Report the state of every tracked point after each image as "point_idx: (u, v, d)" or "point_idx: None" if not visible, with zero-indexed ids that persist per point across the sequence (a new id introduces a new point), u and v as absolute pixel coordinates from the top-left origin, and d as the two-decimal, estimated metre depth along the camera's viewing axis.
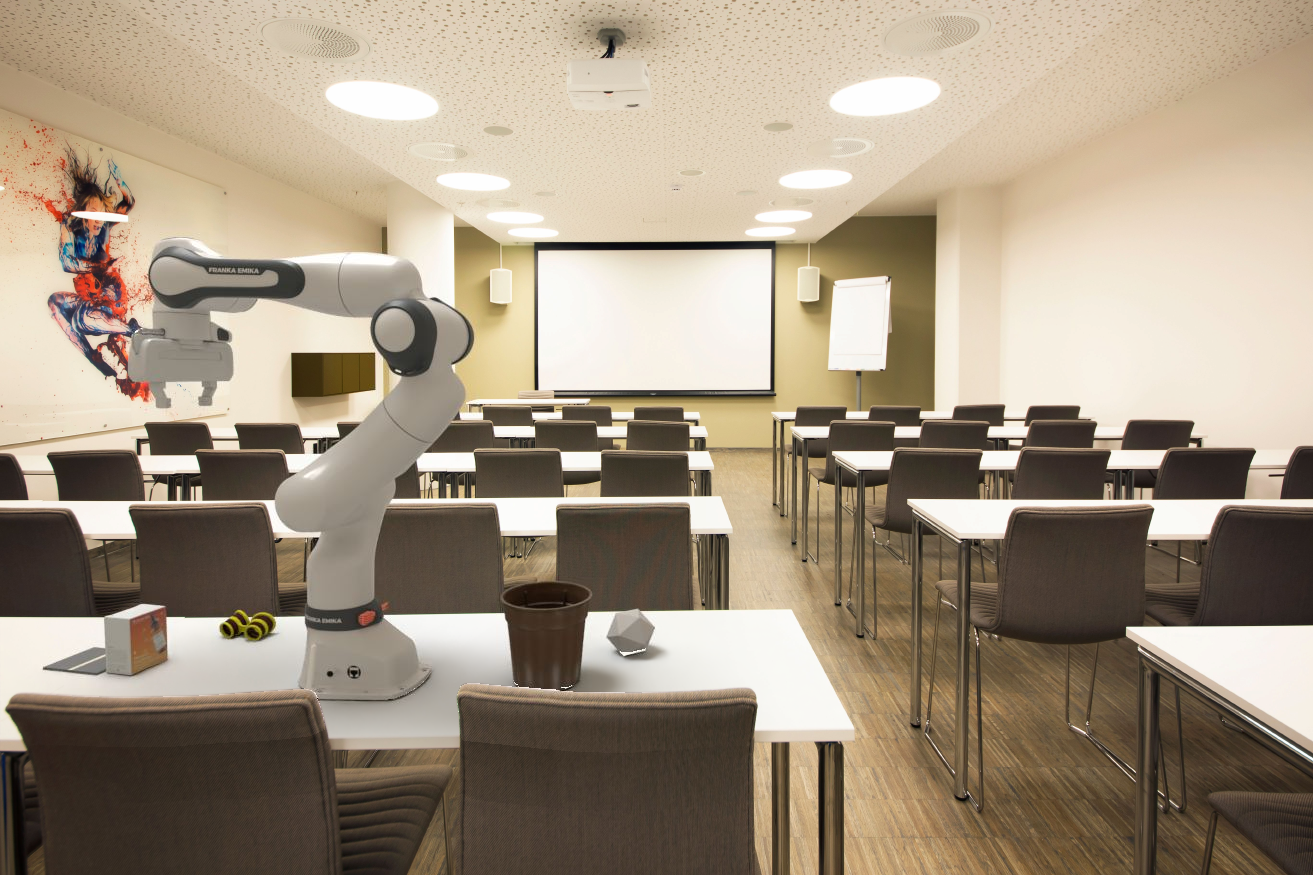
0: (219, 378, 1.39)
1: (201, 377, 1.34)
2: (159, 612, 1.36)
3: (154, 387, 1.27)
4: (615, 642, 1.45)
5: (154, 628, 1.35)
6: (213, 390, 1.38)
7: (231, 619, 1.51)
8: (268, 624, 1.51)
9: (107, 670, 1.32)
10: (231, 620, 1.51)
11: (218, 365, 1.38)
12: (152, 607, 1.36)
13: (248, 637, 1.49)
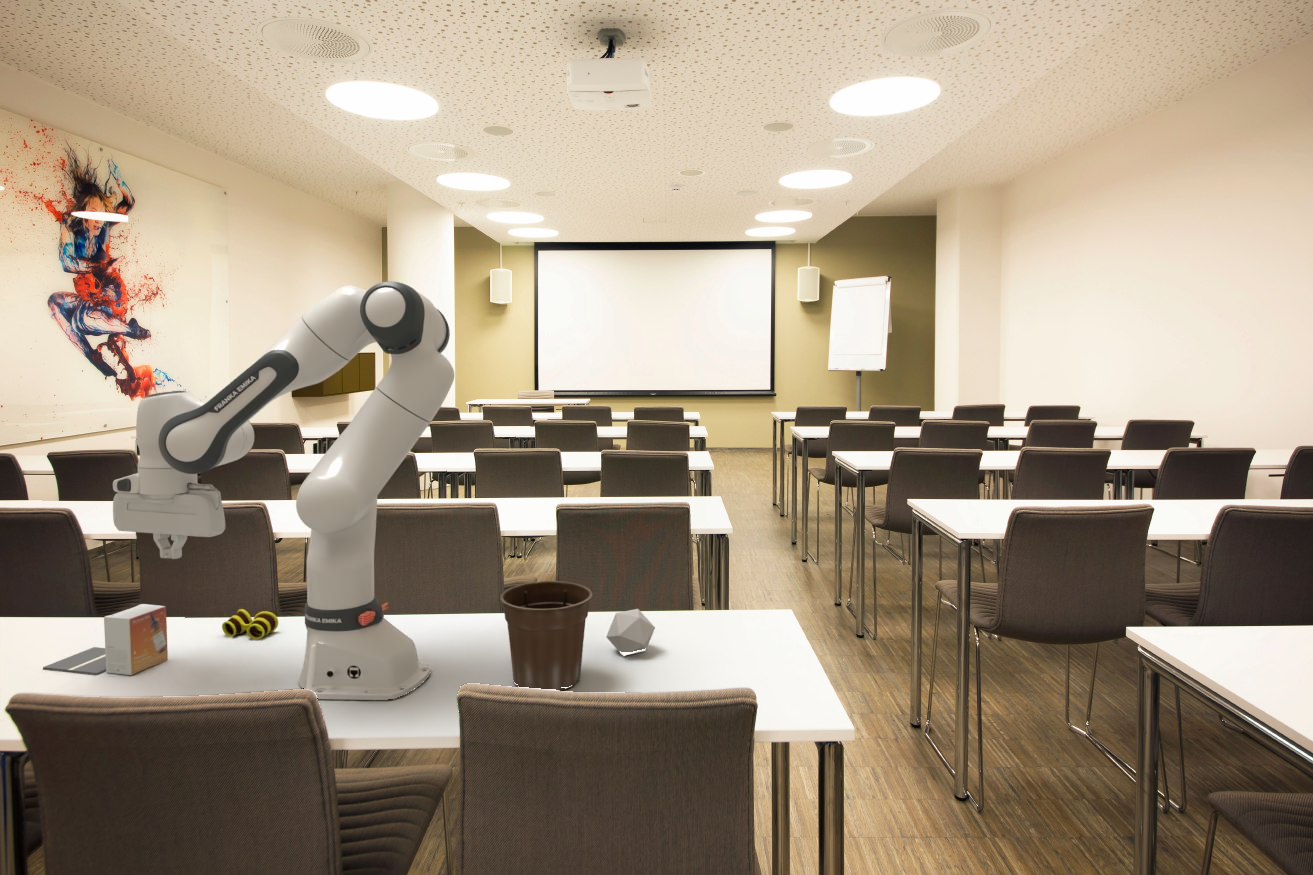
0: None
1: None
2: (159, 612, 1.36)
3: (182, 538, 1.31)
4: (615, 642, 1.45)
5: (154, 628, 1.35)
6: None
7: (234, 618, 1.51)
8: (270, 623, 1.52)
9: (107, 670, 1.32)
10: (234, 618, 1.51)
11: None
12: (152, 607, 1.36)
13: (251, 636, 1.50)
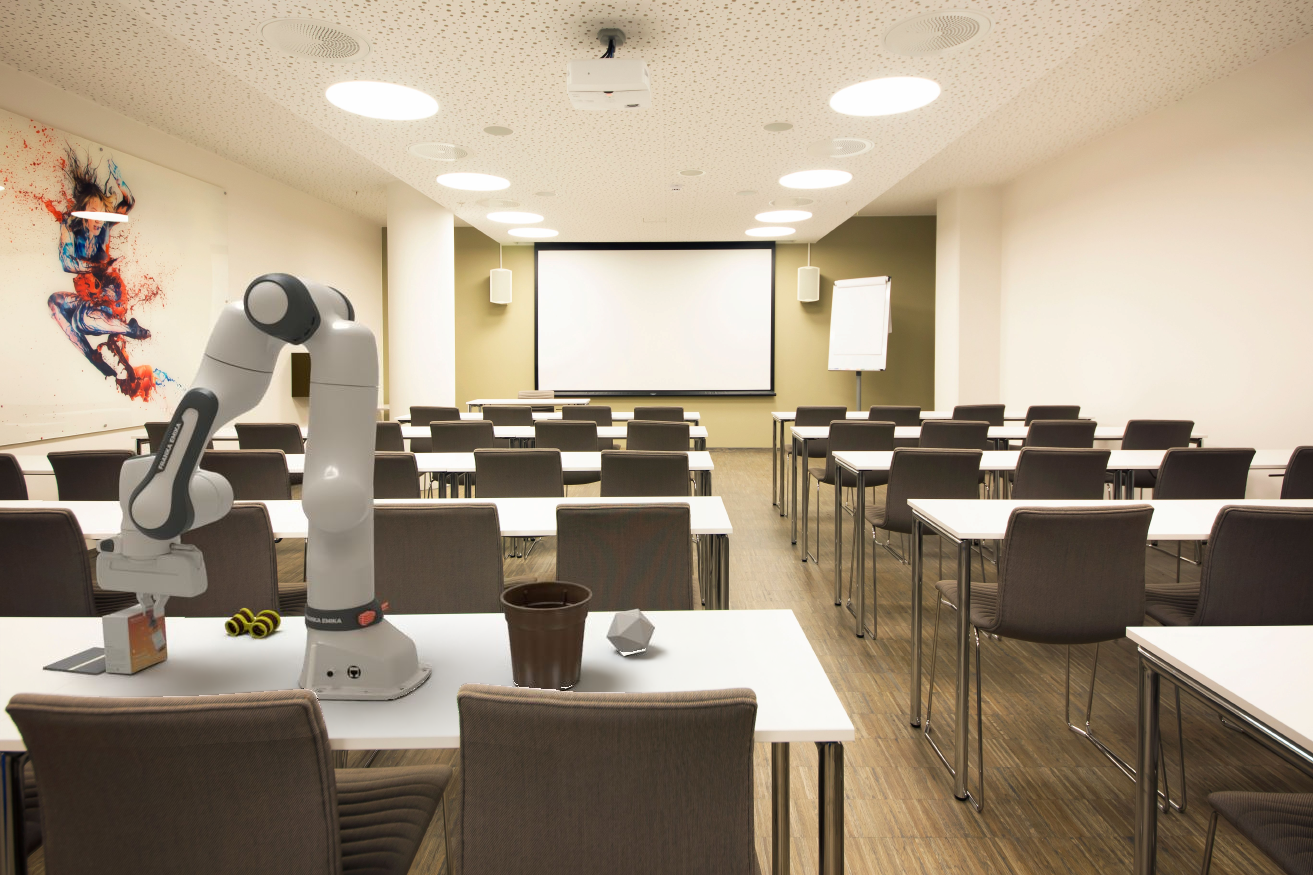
0: None
1: None
2: None
3: (165, 597, 1.33)
4: (615, 642, 1.45)
5: (152, 626, 1.35)
6: None
7: (236, 617, 1.52)
8: (273, 622, 1.53)
9: (107, 670, 1.32)
10: (236, 617, 1.52)
11: None
12: None
13: (253, 635, 1.50)
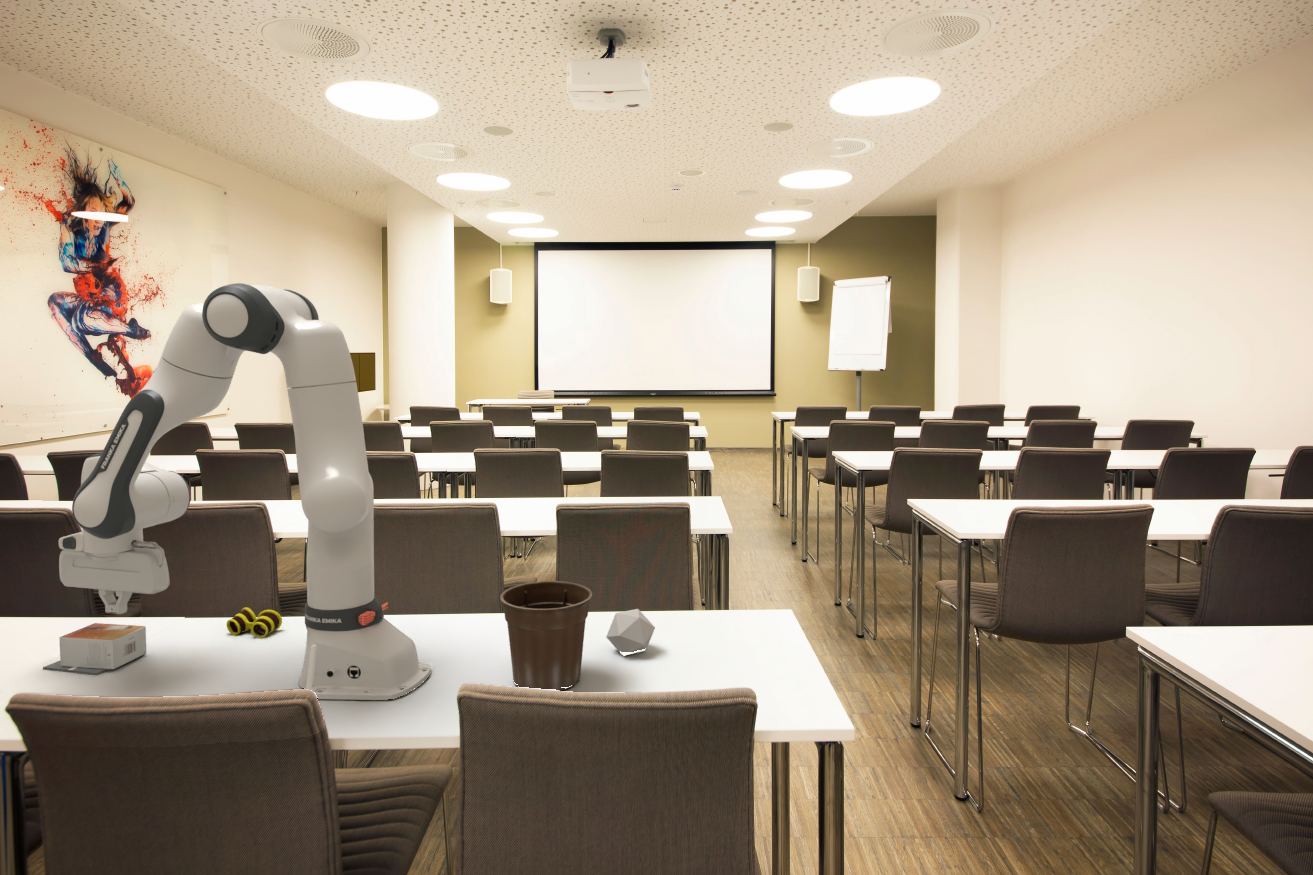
0: None
1: None
2: (91, 625, 1.39)
3: (127, 594, 1.34)
4: (615, 642, 1.45)
5: (98, 628, 1.37)
6: None
7: (238, 616, 1.52)
8: (274, 621, 1.53)
9: (111, 667, 1.32)
10: (238, 617, 1.52)
11: None
12: None
13: (254, 634, 1.51)
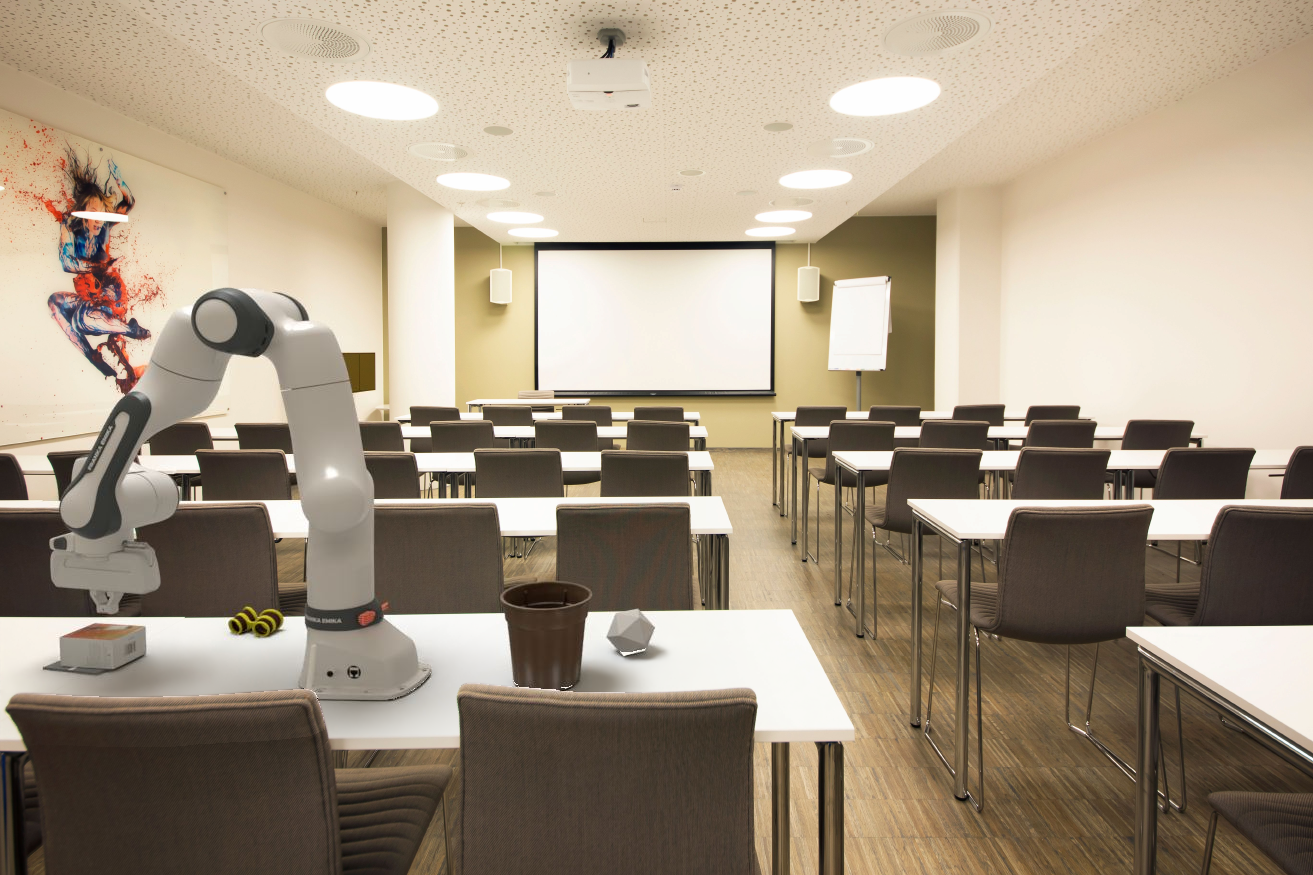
0: None
1: None
2: (91, 625, 1.39)
3: (118, 594, 1.35)
4: (615, 642, 1.45)
5: (98, 628, 1.37)
6: None
7: (240, 615, 1.53)
8: (276, 621, 1.53)
9: (111, 667, 1.32)
10: (240, 616, 1.53)
11: None
12: None
13: (256, 633, 1.51)
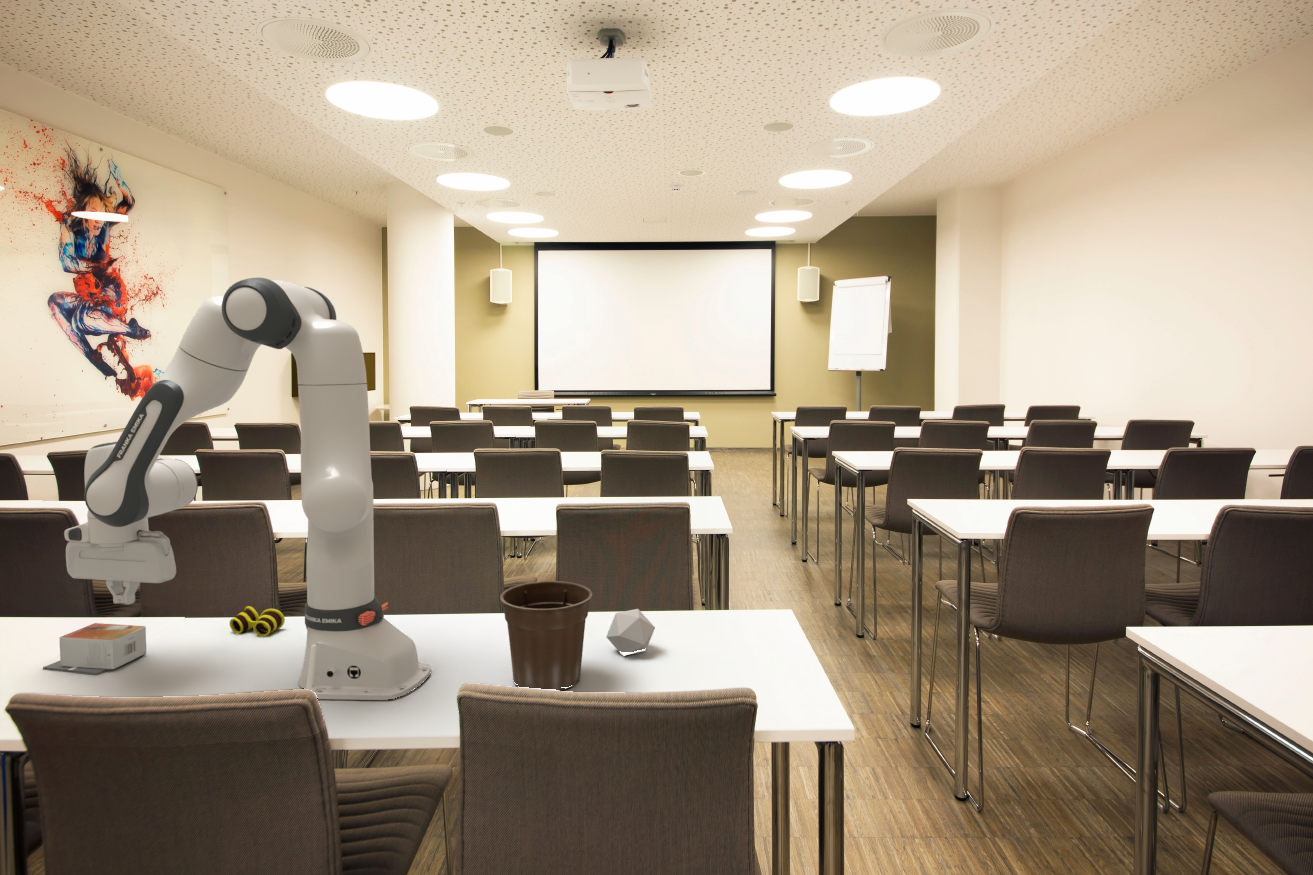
0: None
1: None
2: (91, 625, 1.39)
3: (135, 584, 1.34)
4: (615, 642, 1.45)
5: (98, 628, 1.37)
6: None
7: (241, 615, 1.53)
8: (277, 620, 1.54)
9: (111, 667, 1.32)
10: (241, 615, 1.53)
11: None
12: None
13: (257, 633, 1.51)
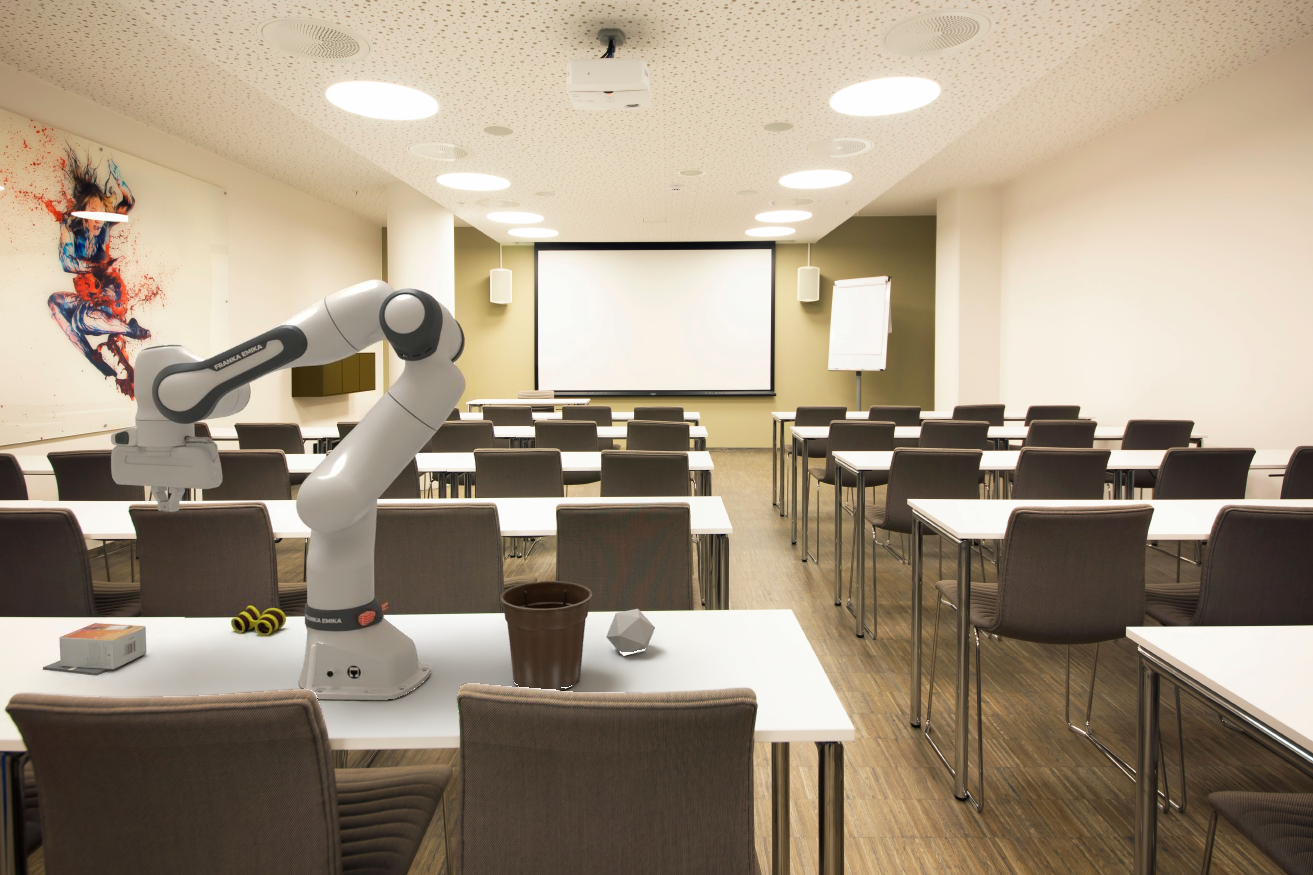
0: None
1: None
2: (91, 625, 1.39)
3: (180, 491, 1.33)
4: (615, 642, 1.45)
5: (98, 628, 1.37)
6: None
7: (242, 614, 1.54)
8: (278, 619, 1.54)
9: (111, 667, 1.32)
10: (242, 615, 1.54)
11: None
12: None
13: (259, 632, 1.52)
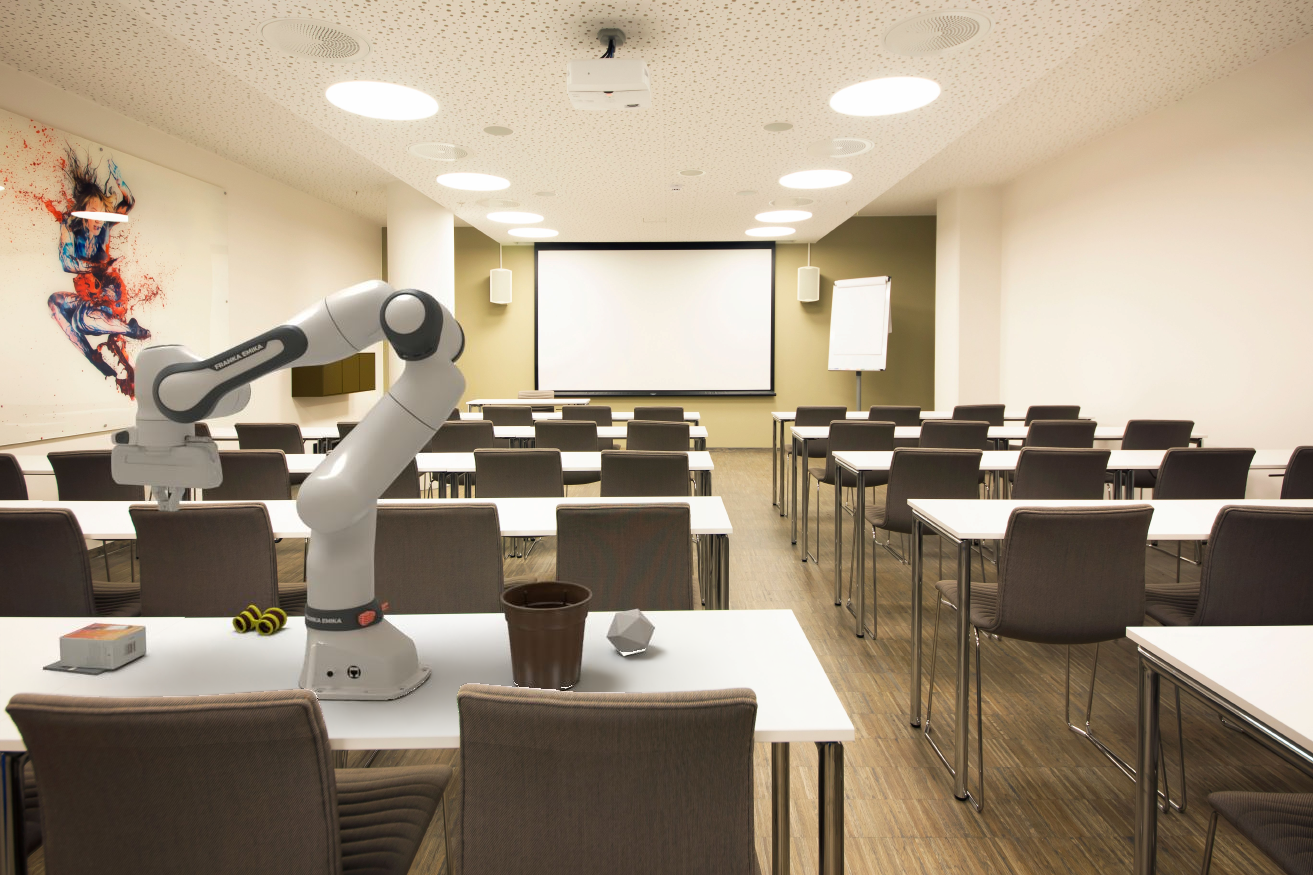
0: None
1: None
2: (91, 625, 1.39)
3: (180, 491, 1.33)
4: (615, 642, 1.45)
5: (98, 628, 1.37)
6: None
7: (244, 614, 1.54)
8: (279, 619, 1.54)
9: (111, 667, 1.32)
10: (244, 614, 1.54)
11: None
12: None
13: (260, 632, 1.52)
